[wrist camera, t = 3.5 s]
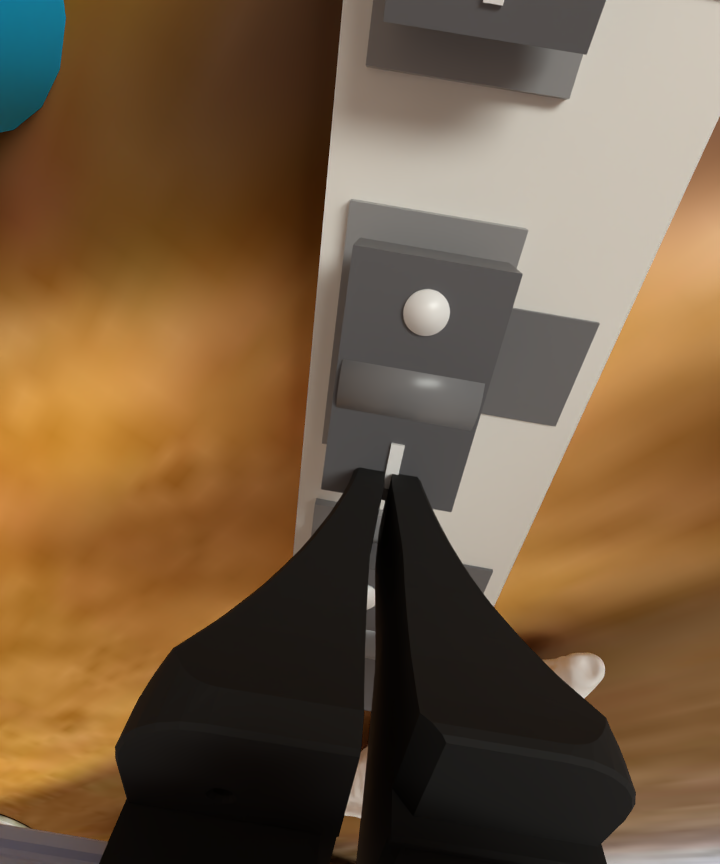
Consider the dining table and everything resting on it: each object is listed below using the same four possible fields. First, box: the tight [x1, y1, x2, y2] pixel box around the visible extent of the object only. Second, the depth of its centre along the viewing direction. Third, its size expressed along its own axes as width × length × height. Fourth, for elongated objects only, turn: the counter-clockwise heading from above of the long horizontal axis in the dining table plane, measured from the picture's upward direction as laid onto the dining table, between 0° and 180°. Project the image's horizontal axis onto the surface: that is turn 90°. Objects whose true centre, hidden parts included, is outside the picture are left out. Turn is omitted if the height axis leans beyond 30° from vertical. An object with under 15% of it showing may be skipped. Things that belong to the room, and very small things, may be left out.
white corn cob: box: [344, 653, 605, 818], centre depth 27 cm, size 5×20×5 cm, turn 148°
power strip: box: [293, 0, 720, 607], centre depth 13 cm, size 8×34×5 cm, turn 172°
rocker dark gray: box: [321, 238, 523, 512], centre depth 11 cm, size 3×6×2 cm, turn 172°
